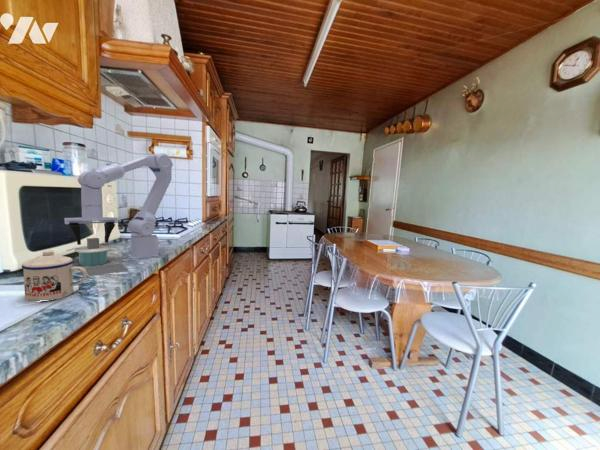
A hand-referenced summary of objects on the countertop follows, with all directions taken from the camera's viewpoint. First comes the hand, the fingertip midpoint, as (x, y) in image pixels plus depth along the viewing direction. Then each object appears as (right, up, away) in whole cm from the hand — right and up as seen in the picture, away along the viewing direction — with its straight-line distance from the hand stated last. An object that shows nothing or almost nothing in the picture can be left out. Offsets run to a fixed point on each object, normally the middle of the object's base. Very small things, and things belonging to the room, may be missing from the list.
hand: (93, 243), depth 90 cm
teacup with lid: (+13, -12, -26) cm, 31 cm away
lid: (0, -2, 0) cm, 2 cm away
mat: (+9, -9, -5) cm, 14 cm away
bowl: (0, -8, +1) cm, 8 cm away
